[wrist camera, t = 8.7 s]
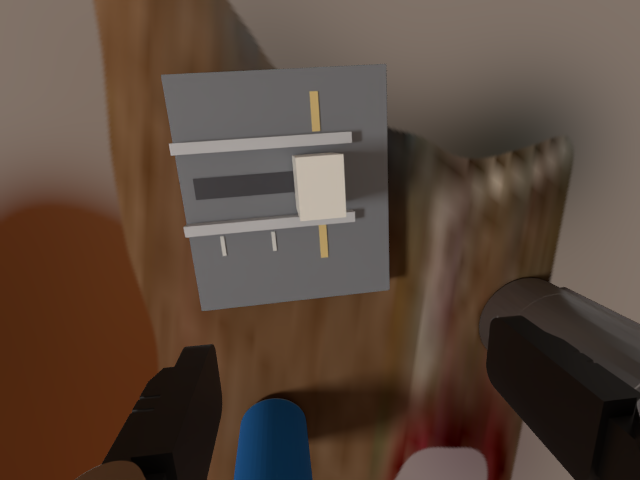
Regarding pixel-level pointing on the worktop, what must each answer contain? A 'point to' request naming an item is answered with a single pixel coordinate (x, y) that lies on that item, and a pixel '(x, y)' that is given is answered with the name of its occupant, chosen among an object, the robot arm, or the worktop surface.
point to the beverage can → (273, 443)
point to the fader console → (280, 181)
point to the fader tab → (319, 186)
